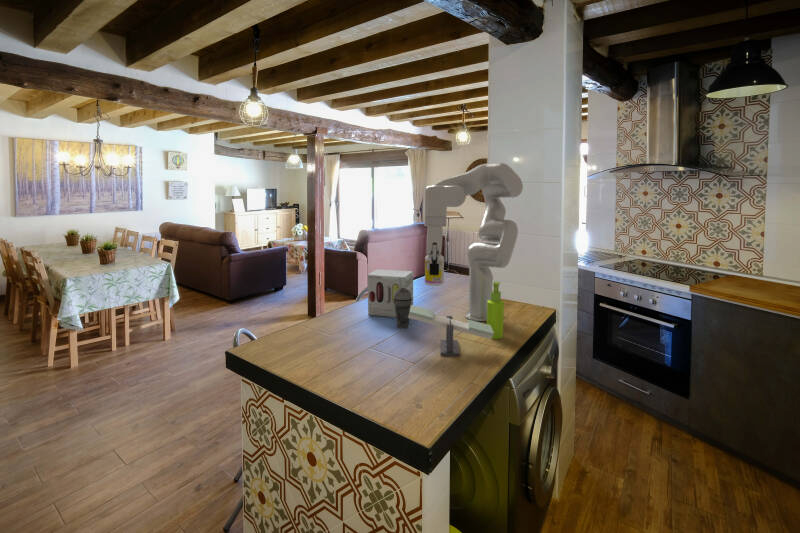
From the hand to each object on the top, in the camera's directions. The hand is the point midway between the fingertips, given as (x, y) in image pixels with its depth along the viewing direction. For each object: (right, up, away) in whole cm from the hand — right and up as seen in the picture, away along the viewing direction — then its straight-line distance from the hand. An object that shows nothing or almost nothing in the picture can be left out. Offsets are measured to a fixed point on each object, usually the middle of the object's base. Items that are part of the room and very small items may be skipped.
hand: (434, 272), depth 145 cm
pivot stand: (+5, -26, -6) cm, 27 cm away
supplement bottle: (0, -4, +1) cm, 4 cm away
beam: (+5, -17, -7) cm, 19 cm away
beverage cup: (-11, -22, +17) cm, 30 cm away
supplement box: (-16, -18, +36) cm, 44 cm away
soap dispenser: (+23, -24, +7) cm, 33 cm away
